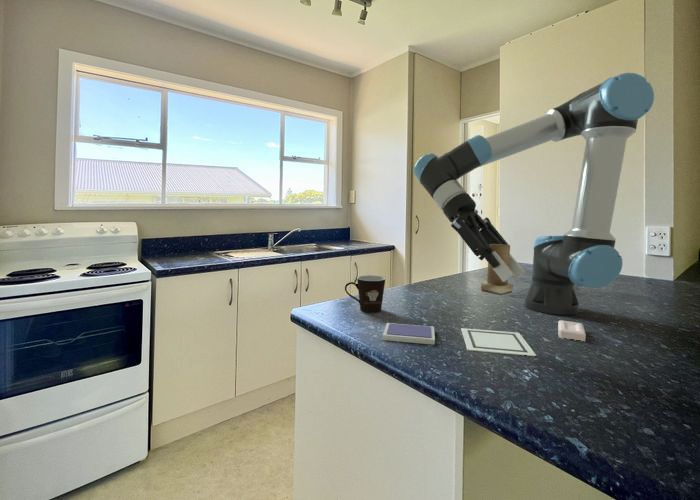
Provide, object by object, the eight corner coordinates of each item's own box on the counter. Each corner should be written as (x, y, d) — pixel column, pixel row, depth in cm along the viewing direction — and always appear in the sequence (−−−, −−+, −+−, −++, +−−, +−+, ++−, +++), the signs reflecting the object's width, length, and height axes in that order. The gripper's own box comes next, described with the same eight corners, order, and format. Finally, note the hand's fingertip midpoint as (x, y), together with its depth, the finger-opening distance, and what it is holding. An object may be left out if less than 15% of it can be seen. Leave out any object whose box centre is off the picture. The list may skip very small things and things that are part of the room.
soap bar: (581, 331, 89) (582, 322, 88) (585, 343, 81) (586, 333, 81) (557, 328, 91) (558, 319, 91) (558, 338, 84) (559, 329, 83)
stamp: (480, 291, 80) (483, 244, 78) (492, 288, 83) (495, 243, 81) (501, 295, 76) (504, 246, 74) (512, 292, 79) (515, 245, 78)
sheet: (518, 333, 86) (519, 332, 86) (536, 356, 72) (536, 355, 72) (460, 328, 89) (461, 327, 89) (467, 350, 75) (467, 348, 75)
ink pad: (433, 331, 87) (433, 325, 87) (434, 344, 78) (434, 338, 78) (386, 327, 90) (386, 322, 89) (382, 339, 81) (382, 334, 81)
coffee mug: (387, 307, 107) (388, 276, 106) (380, 315, 99) (381, 281, 98) (352, 304, 111) (353, 273, 110) (343, 311, 103) (343, 278, 102)
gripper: (465, 212, 94) (520, 281, 83) (423, 212, 84) (480, 291, 73) (483, 193, 90) (545, 263, 79) (442, 190, 79) (506, 270, 68)
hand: (514, 276), depth 76 cm, fingers closed on stamp, 4 cm apart
